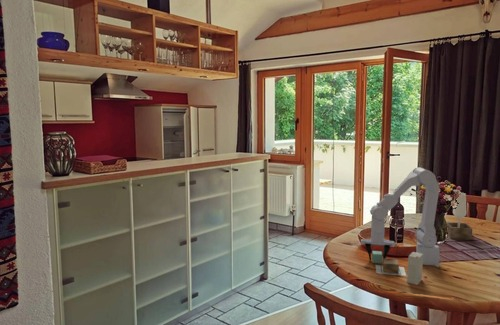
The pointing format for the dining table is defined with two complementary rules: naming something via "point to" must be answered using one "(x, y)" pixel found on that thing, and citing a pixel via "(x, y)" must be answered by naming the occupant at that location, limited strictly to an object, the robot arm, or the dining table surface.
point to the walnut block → (390, 265)
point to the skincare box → (415, 268)
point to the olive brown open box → (459, 230)
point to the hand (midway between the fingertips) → (377, 260)
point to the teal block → (376, 256)
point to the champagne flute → (460, 208)
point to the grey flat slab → (380, 270)
